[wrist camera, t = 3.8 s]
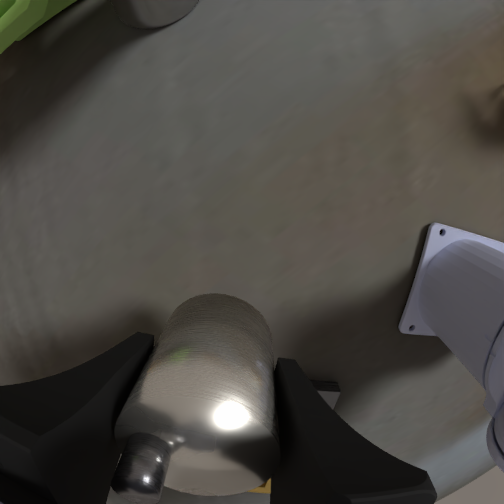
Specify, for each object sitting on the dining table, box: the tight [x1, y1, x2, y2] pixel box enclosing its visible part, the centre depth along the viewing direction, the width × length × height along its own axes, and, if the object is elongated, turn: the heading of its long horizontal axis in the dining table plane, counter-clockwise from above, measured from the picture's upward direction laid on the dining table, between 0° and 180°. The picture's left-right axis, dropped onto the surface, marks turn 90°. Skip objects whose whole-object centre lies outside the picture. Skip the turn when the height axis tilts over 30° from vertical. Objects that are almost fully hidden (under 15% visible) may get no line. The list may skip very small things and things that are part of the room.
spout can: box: [111, 293, 280, 504], centre depth 9 cm, size 4×4×8 cm
